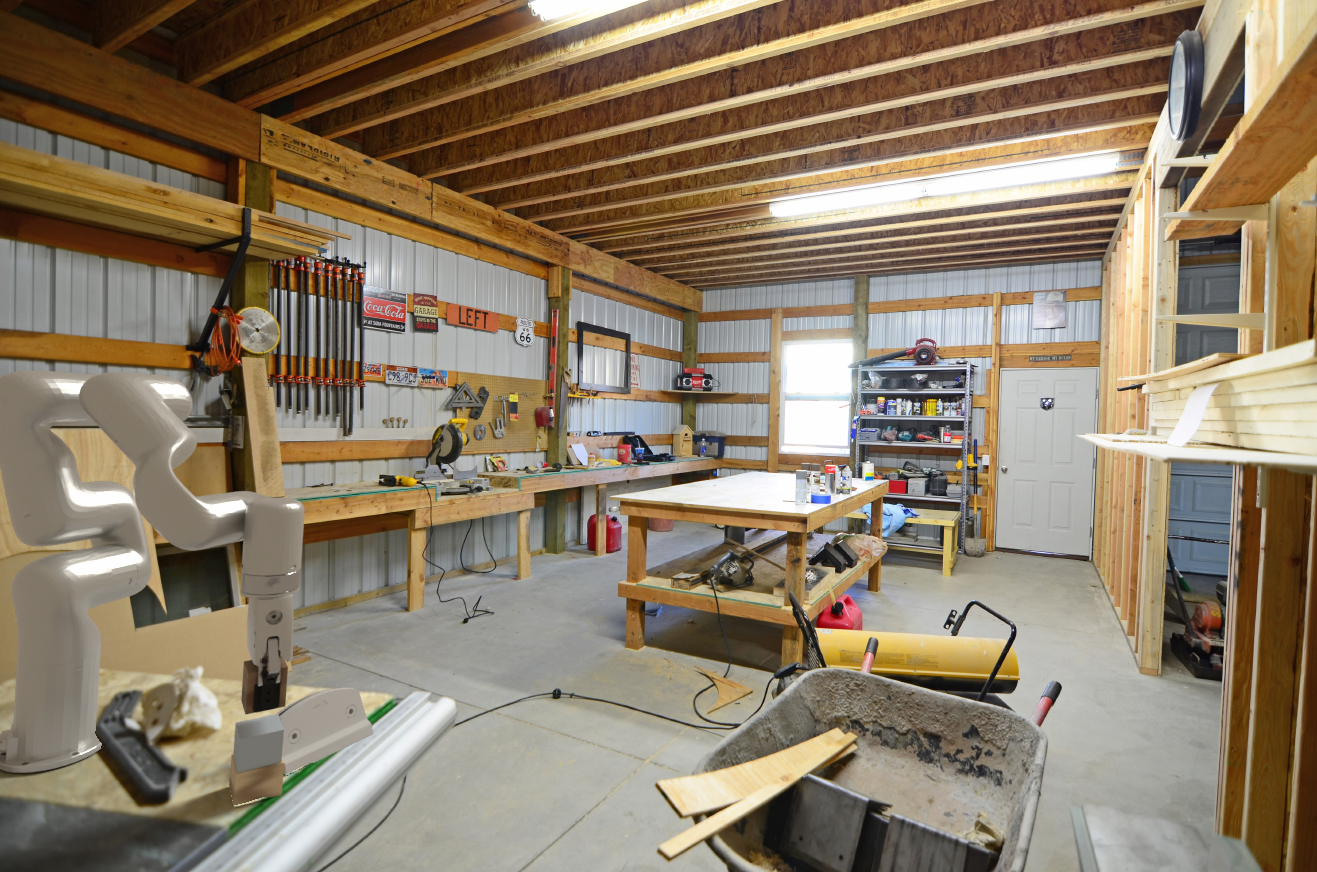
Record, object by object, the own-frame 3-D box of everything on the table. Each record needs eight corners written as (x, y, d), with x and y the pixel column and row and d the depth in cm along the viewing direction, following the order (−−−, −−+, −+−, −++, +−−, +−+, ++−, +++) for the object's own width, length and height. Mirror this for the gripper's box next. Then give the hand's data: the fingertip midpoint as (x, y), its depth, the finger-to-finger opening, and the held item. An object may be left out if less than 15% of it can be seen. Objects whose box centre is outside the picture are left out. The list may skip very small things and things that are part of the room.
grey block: (237, 773, 89) (239, 739, 89) (233, 754, 93) (235, 722, 93) (281, 762, 93) (283, 729, 93) (275, 745, 97) (278, 713, 97)
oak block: (233, 808, 89) (236, 774, 89) (229, 786, 94) (231, 754, 93) (281, 795, 93) (284, 762, 93) (275, 774, 97) (277, 743, 97)
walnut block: (245, 714, 89) (247, 673, 89) (241, 700, 93) (243, 661, 93) (285, 706, 93) (287, 666, 92) (279, 693, 96) (282, 655, 96)
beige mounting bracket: (284, 777, 97) (275, 712, 98) (265, 777, 99) (257, 713, 100) (375, 732, 112) (366, 676, 113) (357, 733, 114) (349, 678, 115)
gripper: (310, 594, 88) (302, 719, 89) (289, 565, 101) (282, 675, 102) (248, 600, 83) (239, 733, 84) (234, 570, 96) (227, 685, 97)
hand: (263, 700), depth 93 cm, fingers closed on walnut block, 5 cm apart
